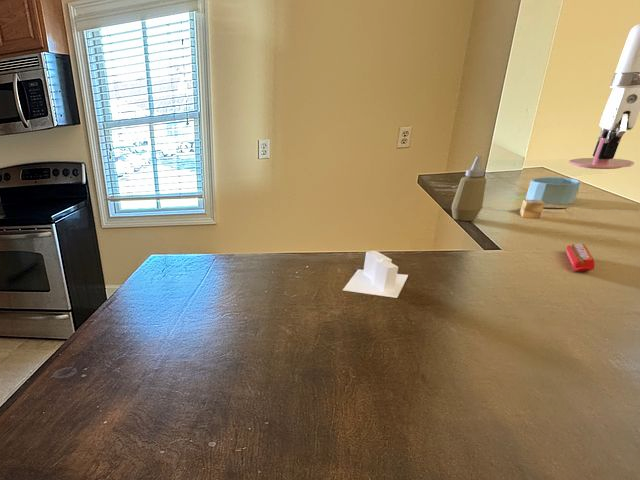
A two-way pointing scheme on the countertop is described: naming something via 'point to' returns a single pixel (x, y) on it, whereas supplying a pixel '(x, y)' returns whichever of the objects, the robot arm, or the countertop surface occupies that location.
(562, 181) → the bowl
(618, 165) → the pink peg stand
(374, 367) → the countertop surface
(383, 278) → the white building model
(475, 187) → the squeeze bottle
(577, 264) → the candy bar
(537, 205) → the block
